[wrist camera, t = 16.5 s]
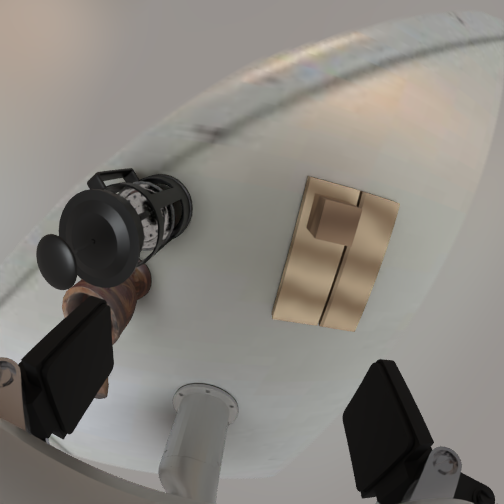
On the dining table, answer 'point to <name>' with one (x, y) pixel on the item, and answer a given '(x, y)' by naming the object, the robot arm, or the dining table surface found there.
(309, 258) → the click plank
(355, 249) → the laid board
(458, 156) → the dining table surface
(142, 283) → the mortar and pestle
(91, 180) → the french press
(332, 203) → the walnut block
